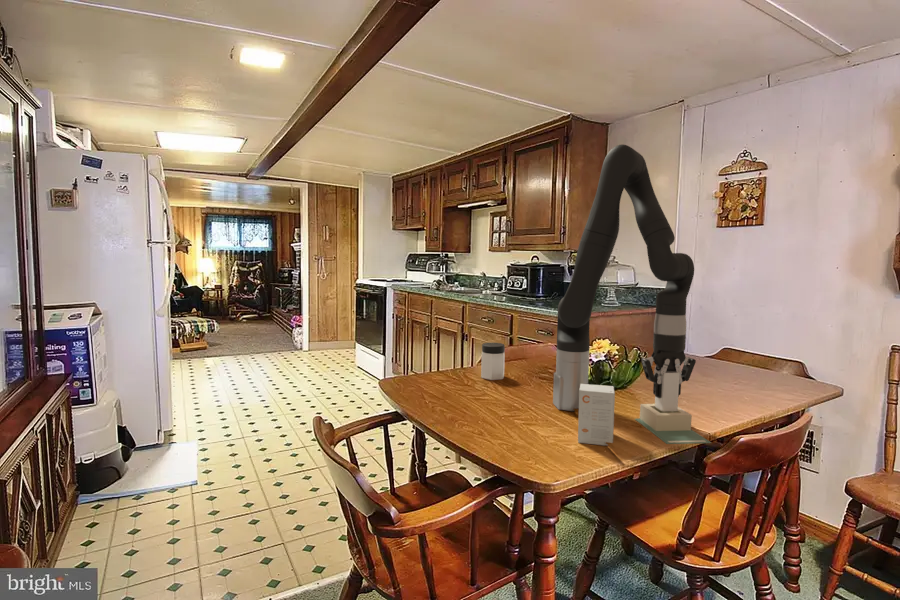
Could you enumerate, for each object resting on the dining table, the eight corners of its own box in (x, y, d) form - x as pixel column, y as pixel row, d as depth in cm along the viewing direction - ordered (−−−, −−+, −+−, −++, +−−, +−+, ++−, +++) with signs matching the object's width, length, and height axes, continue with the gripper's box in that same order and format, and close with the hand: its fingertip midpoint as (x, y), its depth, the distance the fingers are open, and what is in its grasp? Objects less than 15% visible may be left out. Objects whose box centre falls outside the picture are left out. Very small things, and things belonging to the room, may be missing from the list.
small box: (612, 437, 119) (614, 385, 118) (613, 447, 113) (615, 393, 111) (578, 433, 121) (580, 382, 120) (577, 443, 115) (579, 389, 114)
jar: (509, 377, 175) (510, 344, 173) (496, 381, 169) (496, 347, 167) (489, 372, 181) (490, 341, 179) (476, 377, 174) (476, 344, 173)
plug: (662, 411, 123) (664, 371, 122) (653, 405, 127) (655, 367, 126) (677, 411, 123) (679, 371, 122) (668, 405, 128) (670, 367, 127)
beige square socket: (656, 430, 120) (656, 415, 120) (638, 417, 130) (639, 403, 130) (690, 430, 121) (691, 414, 121) (670, 417, 131) (671, 402, 130)
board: (666, 447, 113) (666, 443, 112) (634, 422, 129) (634, 418, 129) (711, 447, 113) (711, 442, 113) (673, 421, 130) (673, 417, 130)
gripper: (688, 328, 127) (684, 392, 129) (636, 329, 126) (633, 393, 128) (705, 333, 120) (701, 400, 121) (649, 334, 119) (646, 402, 120)
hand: (666, 396), depth 125 cm, fingers closed on plug, 4 cm apart
